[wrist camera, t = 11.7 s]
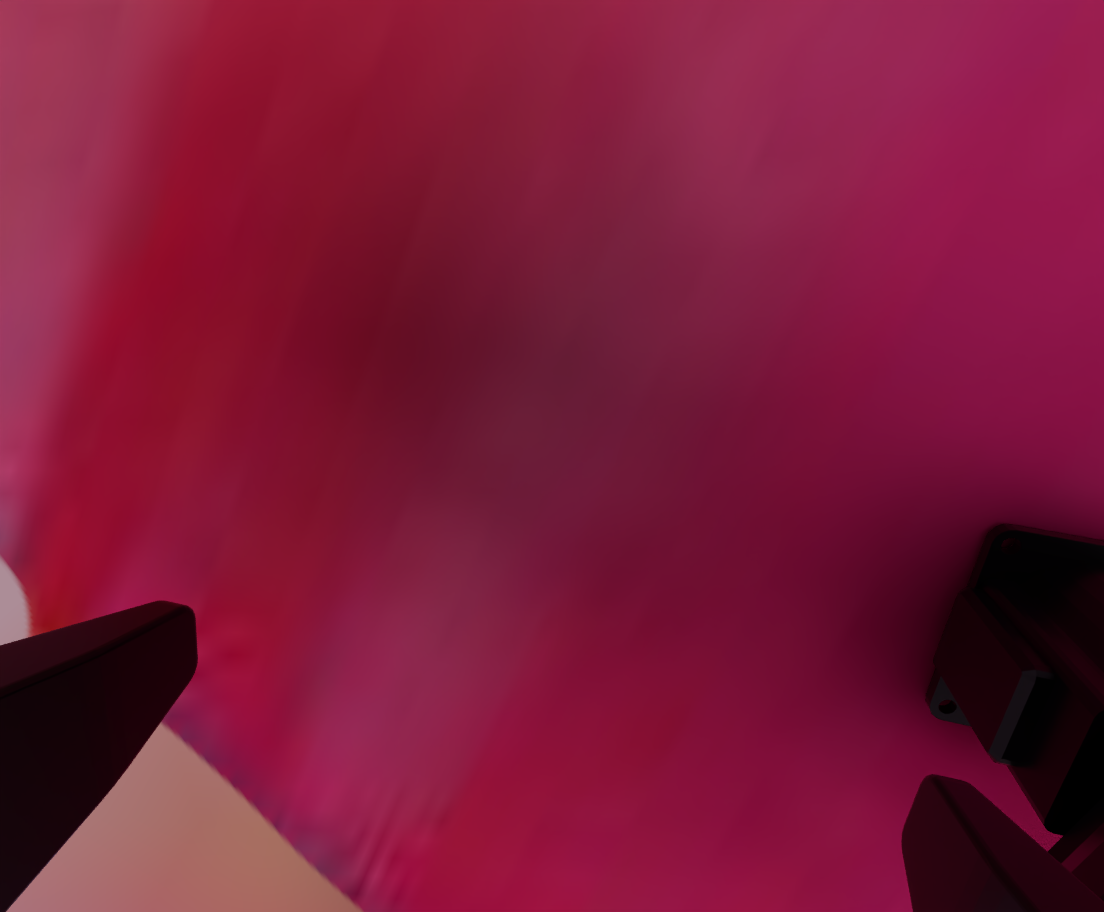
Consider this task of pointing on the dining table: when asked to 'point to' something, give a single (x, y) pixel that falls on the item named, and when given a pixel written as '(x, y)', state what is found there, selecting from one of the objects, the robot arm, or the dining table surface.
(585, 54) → the dining table surface
